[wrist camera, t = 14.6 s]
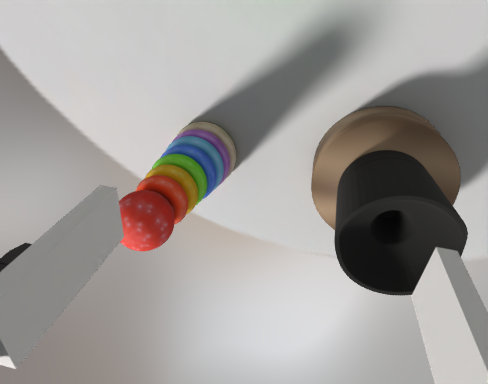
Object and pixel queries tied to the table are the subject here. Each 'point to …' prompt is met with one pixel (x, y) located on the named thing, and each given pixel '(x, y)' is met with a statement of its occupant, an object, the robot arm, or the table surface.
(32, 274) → the robot arm
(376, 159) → the pen holder
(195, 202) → the stacking toy
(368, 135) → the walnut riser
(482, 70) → the table surface
